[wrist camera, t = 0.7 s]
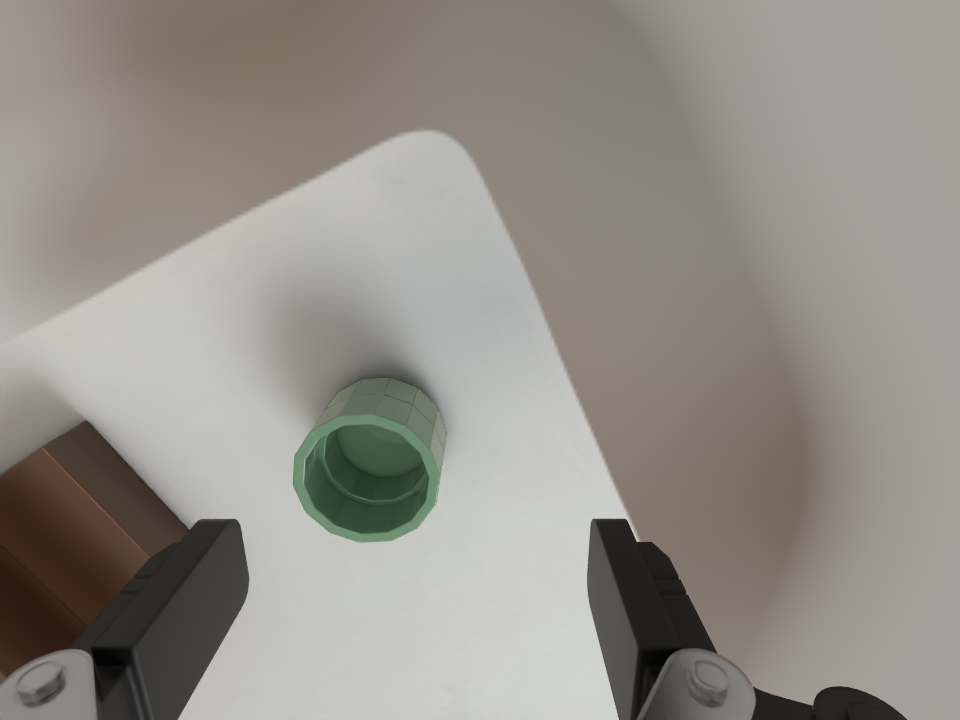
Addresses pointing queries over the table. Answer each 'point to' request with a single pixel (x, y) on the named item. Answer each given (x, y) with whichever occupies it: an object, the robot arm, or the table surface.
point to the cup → (372, 461)
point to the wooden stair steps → (70, 541)
